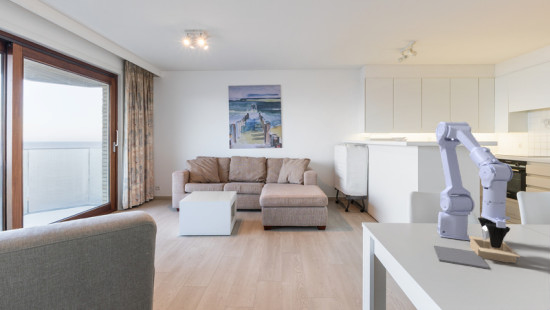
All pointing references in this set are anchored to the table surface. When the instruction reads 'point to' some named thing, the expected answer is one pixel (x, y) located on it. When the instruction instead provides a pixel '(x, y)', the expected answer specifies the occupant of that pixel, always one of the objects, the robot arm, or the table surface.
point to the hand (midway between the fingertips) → (492, 243)
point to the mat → (460, 257)
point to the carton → (493, 251)
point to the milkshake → (486, 238)
